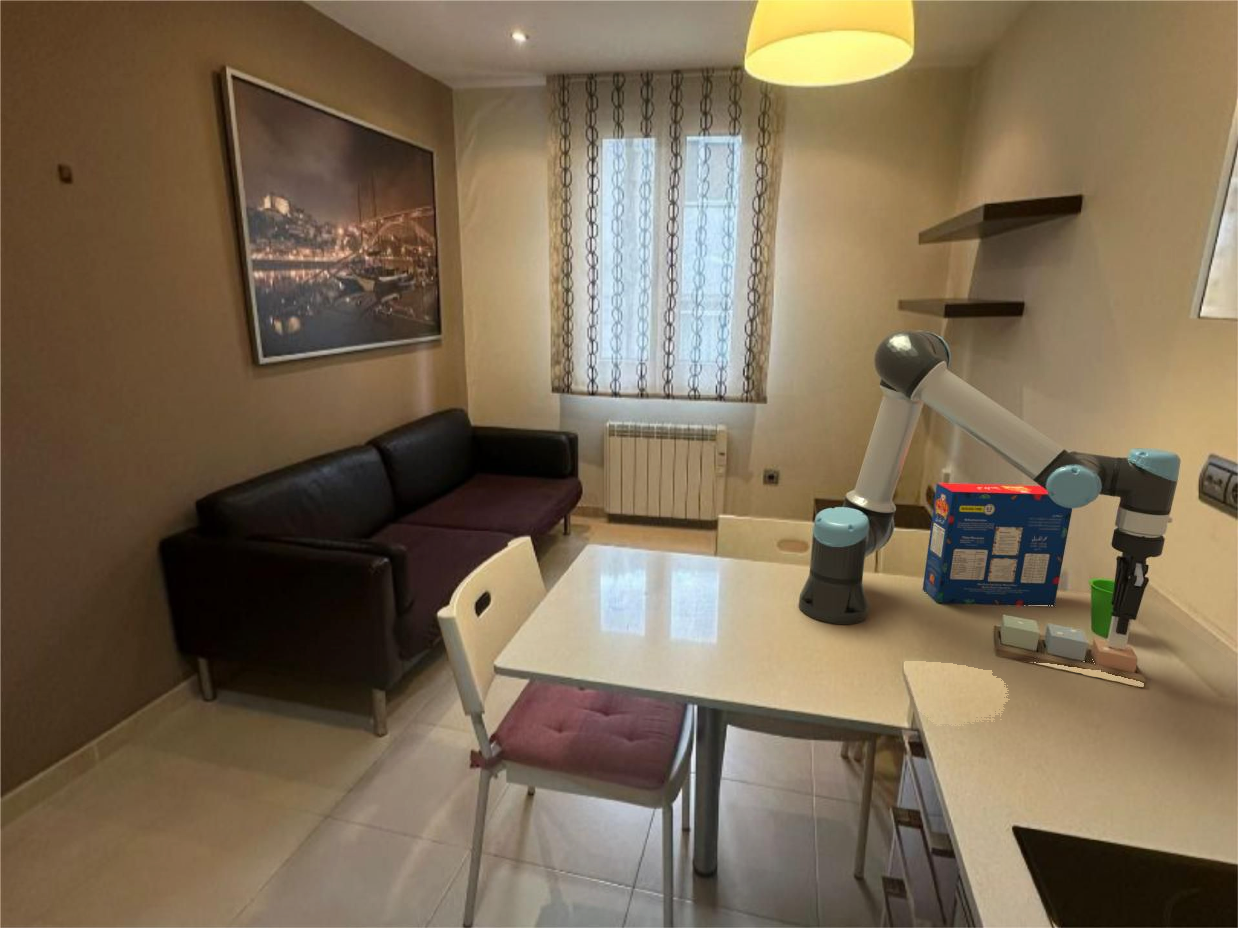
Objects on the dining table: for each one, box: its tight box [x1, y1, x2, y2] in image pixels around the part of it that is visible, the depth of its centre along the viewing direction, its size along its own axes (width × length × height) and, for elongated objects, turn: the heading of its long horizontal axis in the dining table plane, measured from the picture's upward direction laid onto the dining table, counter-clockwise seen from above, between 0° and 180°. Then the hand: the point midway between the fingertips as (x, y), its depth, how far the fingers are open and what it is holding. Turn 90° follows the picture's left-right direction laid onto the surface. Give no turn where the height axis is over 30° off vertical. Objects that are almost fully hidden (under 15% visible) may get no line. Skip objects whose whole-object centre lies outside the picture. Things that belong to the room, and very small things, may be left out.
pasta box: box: [922, 482, 1073, 607], centre depth 155 cm, size 28×8×28 cm, turn 89°
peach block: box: [1090, 637, 1139, 673], centre depth 126 cm, size 6×6×4 cm
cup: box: [1088, 578, 1115, 639], centre depth 140 cm, size 9×9×11 cm
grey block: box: [1044, 622, 1089, 662], centre depth 129 cm, size 6×6×4 cm
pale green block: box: [1000, 614, 1040, 652], centre depth 132 cm, size 6×6×4 cm
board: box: [993, 624, 1146, 685], centre depth 129 cm, size 24×12×2 cm, turn 62°
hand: (1116, 646), depth 125 cm, fingers closed
